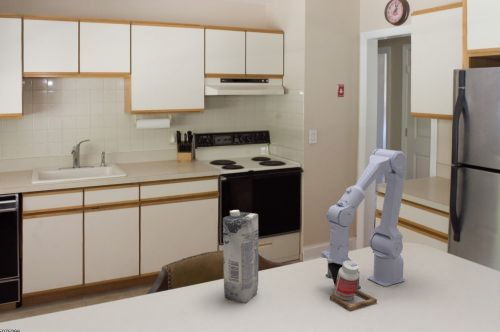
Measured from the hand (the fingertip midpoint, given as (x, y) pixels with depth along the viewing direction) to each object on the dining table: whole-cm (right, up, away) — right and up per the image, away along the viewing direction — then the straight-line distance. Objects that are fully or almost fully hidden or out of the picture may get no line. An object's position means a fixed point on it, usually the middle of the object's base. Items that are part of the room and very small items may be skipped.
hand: (337, 285), depth 146 cm
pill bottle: (+1, -2, -3) cm, 3 cm away
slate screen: (+3, -1, +9) cm, 9 cm away
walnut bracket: (+3, -3, -5) cm, 7 cm away
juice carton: (-30, -3, -1) cm, 30 cm away
